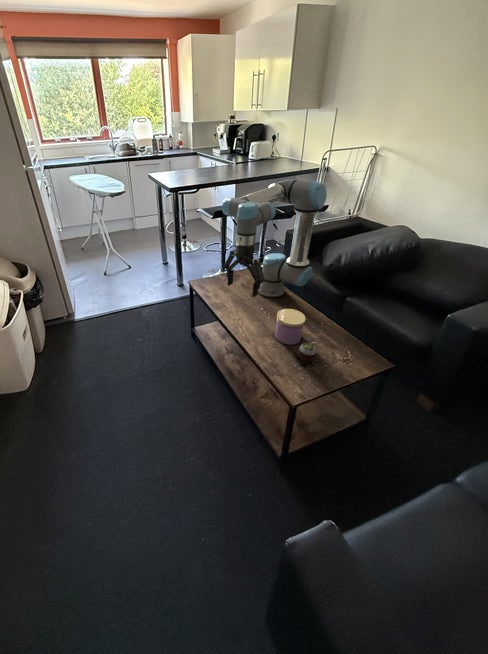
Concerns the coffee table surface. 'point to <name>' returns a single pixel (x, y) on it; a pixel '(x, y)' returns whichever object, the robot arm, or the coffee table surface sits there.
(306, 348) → the mate gourd
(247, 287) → the coffee table surface
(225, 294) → the coffee table surface
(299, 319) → the jar
